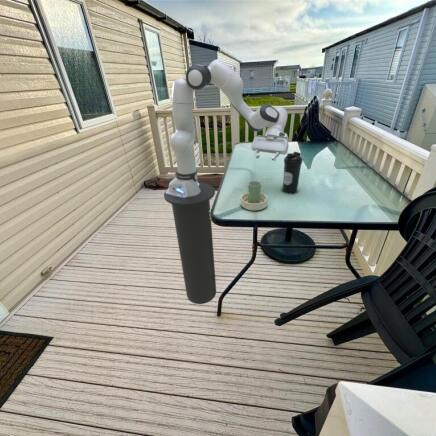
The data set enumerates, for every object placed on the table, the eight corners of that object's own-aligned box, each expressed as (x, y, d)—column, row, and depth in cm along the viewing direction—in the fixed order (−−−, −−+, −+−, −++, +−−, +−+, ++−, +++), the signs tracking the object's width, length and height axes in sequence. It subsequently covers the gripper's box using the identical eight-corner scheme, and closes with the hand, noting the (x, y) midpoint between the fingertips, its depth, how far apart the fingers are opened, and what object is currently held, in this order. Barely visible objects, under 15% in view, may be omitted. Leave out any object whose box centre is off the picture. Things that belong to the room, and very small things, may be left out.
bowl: (238, 209, 130) (238, 202, 128) (244, 198, 142) (244, 191, 140) (264, 213, 126) (264, 205, 124) (269, 201, 138) (269, 193, 136)
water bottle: (277, 190, 150) (280, 153, 138) (288, 185, 155) (292, 149, 143) (291, 195, 143) (295, 157, 131) (301, 190, 148) (307, 153, 136)
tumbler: (246, 205, 132) (247, 185, 126) (249, 200, 137) (249, 180, 131) (258, 207, 130) (259, 186, 124) (261, 201, 136) (262, 181, 129)
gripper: (254, 131, 136) (246, 153, 134) (289, 134, 126) (281, 158, 124) (257, 137, 141) (249, 159, 139) (291, 141, 132) (284, 164, 130)
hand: (265, 158), depth 132 cm, fingers open, 8 cm apart
